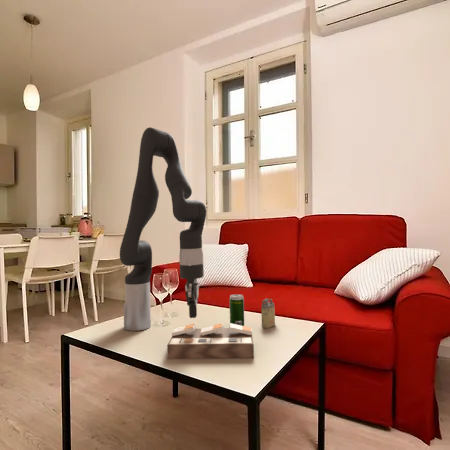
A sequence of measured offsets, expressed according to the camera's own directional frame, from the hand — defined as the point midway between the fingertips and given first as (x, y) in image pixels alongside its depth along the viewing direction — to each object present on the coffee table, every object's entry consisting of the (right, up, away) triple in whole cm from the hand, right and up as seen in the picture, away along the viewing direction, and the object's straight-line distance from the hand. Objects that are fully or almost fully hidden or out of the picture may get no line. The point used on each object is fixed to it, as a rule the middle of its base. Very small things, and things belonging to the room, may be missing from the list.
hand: (193, 317), depth 97 cm
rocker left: (-3, -4, 0) cm, 5 cm away
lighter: (+27, -9, +19) cm, 34 cm away
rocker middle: (+6, -4, 0) cm, 7 cm away
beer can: (+15, -9, +18) cm, 25 cm away
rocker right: (+15, -4, 0) cm, 15 cm away
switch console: (+6, -9, -2) cm, 11 cm away
